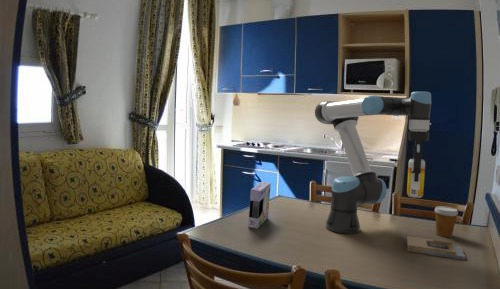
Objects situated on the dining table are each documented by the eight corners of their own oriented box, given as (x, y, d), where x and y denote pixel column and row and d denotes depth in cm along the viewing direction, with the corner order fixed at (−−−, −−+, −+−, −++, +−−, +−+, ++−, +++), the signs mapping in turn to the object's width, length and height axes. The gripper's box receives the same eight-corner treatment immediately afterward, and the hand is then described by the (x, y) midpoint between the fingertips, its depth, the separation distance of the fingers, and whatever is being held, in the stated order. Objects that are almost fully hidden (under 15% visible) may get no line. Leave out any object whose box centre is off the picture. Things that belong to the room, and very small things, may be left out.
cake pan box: (257, 229, 170) (259, 190, 168) (246, 228, 172) (248, 188, 170) (269, 218, 188) (271, 182, 186) (259, 217, 190) (261, 181, 188)
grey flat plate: (421, 253, 150) (422, 250, 150) (420, 243, 161) (420, 240, 161) (465, 260, 145) (465, 256, 145) (460, 249, 156) (460, 246, 156)
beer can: (423, 196, 158) (425, 159, 157) (422, 198, 153) (425, 160, 152) (407, 194, 161) (409, 158, 160) (406, 196, 155) (408, 159, 154)
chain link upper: (407, 250, 152) (407, 244, 152) (406, 241, 163) (407, 236, 163) (455, 258, 146) (456, 252, 146) (451, 248, 157) (451, 242, 157)
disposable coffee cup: (458, 239, 169) (461, 212, 168) (435, 237, 171) (437, 210, 170) (452, 232, 178) (454, 207, 177) (429, 230, 180) (432, 205, 179)
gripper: (430, 131, 145) (426, 193, 146) (428, 130, 162) (424, 185, 164) (408, 130, 148) (405, 191, 149) (408, 129, 165) (405, 183, 167)
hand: (415, 188), depth 157 cm, fingers closed on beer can, 6 cm apart
